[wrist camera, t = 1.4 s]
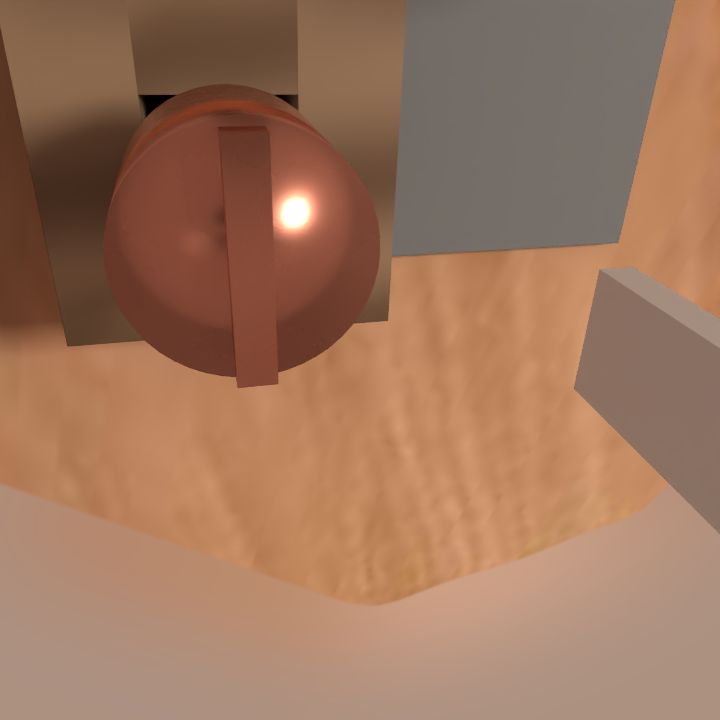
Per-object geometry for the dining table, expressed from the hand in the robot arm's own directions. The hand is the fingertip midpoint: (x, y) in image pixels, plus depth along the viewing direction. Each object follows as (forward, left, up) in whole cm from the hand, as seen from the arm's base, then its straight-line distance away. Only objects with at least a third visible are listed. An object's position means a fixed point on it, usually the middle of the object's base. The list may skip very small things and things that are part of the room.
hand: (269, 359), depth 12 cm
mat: (-1, +13, -17) cm, 22 cm away
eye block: (0, 0, -17) cm, 17 cm away
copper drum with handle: (0, 0, -17) cm, 17 cm away
